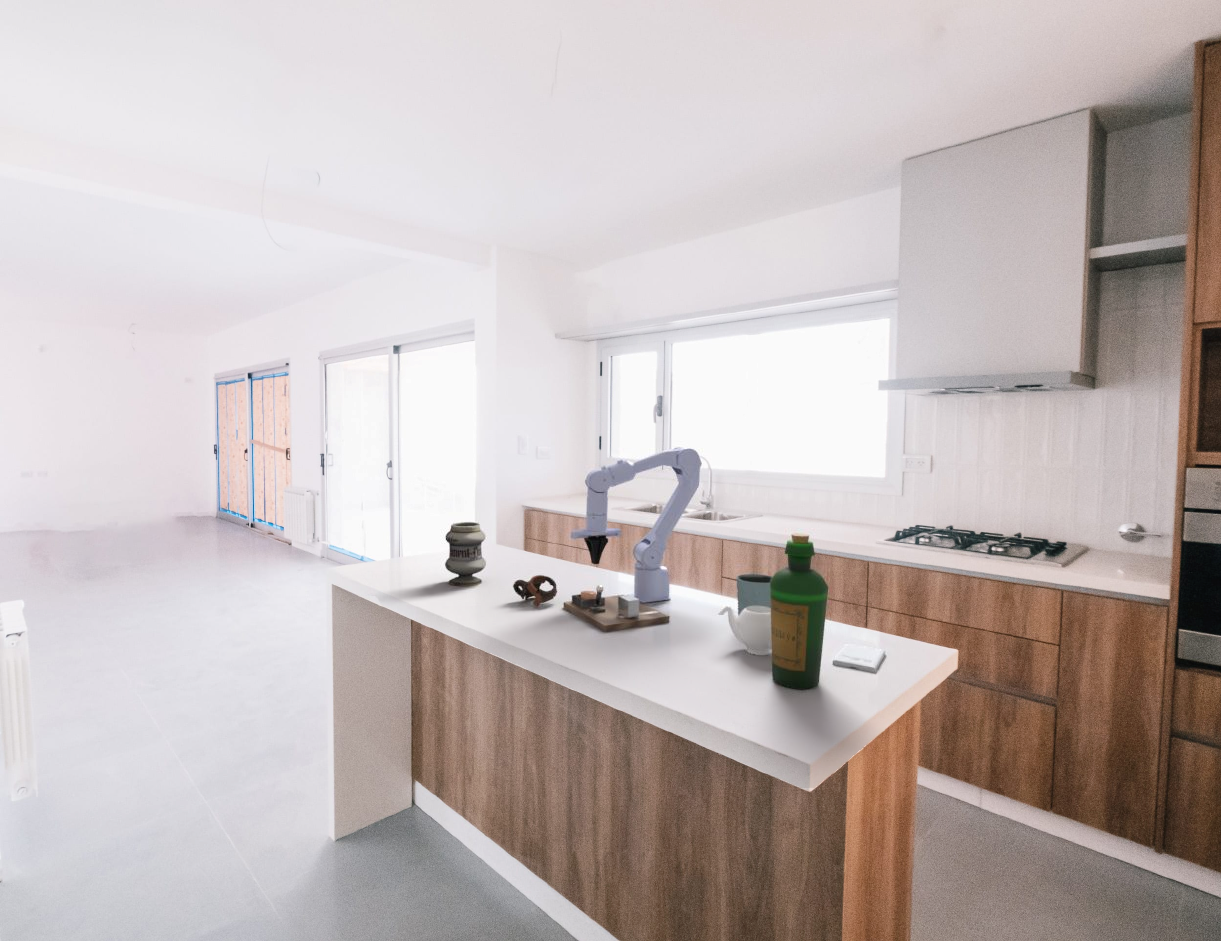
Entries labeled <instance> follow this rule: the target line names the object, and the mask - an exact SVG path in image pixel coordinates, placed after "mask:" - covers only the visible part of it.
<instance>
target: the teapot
mask: <svg viewBox="0 0 1221 941" xmlns="http://www.w3.org/2000/svg"><path fill="white" fill-rule="evenodd" d="M726 613H727V618H728V623H729V624H728V625H729V627H730V629H731V632H732V634H733V635H734V637H735V638H736V639H737V640H738V641H739V643H741V644H743V645H744V646H745V647H746V652H747V653H749V654H750V653H751V655H753V654H755V655H754V656H767V655H766V654H768V655H769V654H770V650H772V644H771V608H768V607H764V606H748V607H746V608H744V609H743V610H742V612H741V613H740V615H739V616H738V615H736V614H735V612H734V610H733V608H732V607H731V606H730V605H727V606H725V607H724V608H723V609H722V610H720V611H719V612H718V615H719V616H720V615H721V616H723V615H724V614H726Z"/></svg>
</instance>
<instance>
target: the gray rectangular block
mask: <svg viewBox="0 0 1221 941" xmlns="http://www.w3.org/2000/svg"><path fill="white" fill-rule="evenodd" d="M623 595H624V594H623ZM639 603H640V602H639V599H637V598H635V597H632V596H630V594H626V595H624V596H618V613H619V614H621V615H623V616H625V617H627V618H633V617H639Z"/></svg>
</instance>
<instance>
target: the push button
mask: <svg viewBox="0 0 1221 941" xmlns="http://www.w3.org/2000/svg"><path fill="white" fill-rule="evenodd" d="M580 594H581V598H582V599H584V600H586V599H594V598H596V594H597V591H594V590H583V591H581V592H580Z"/></svg>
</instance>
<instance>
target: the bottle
mask: <svg viewBox="0 0 1221 941" xmlns="http://www.w3.org/2000/svg"><path fill="white" fill-rule="evenodd" d="M784 554H786V555H787V564H788V565H787V566H785V567H783V568H781V569H779V570H778V571H776V572H775V573H774V575H772V578H771V580H770V604H771V644H772V649H771V665H772V666H771V674H772V675H771V676H772V680H774V681H775V682H776V683H778V684H780V685H781V686H784V687H787V688H790V689H799V690H803V689H805V690H806V689H810V688H814V687H816V686H817V685H818V684H819V683H820V677H821V676H820V675H821V666H822V664H821V663H822V656H823V644H824V637H825V636H824V634H825V623H826V614H827V604H828V594H829V585H828V583H827V582H826V581H825V579H824V577H823V575H821V574H820V573H819V572H818V571H816V570H815V569H814V568H811V564H812V557H814V556H815V555H816V553H815V548H814V542H813V541H811V540H810V535H809V534H806V533H791V539H789V540H787V542H786V544H785V550H784Z"/></svg>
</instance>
